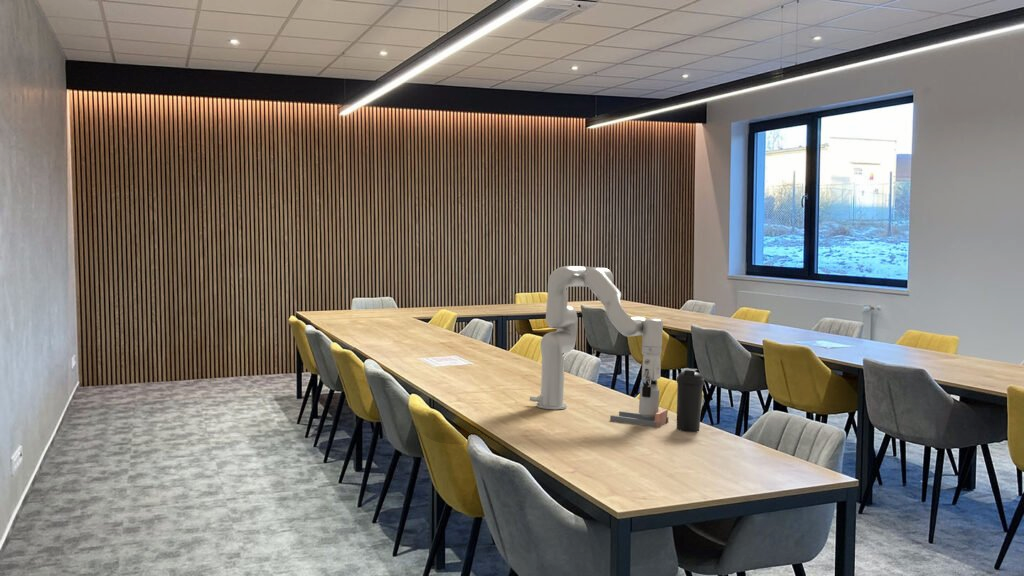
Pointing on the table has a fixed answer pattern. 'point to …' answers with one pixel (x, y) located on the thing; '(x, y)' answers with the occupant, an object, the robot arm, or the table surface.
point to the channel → (641, 418)
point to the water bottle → (689, 400)
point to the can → (649, 402)
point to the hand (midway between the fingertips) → (649, 395)
